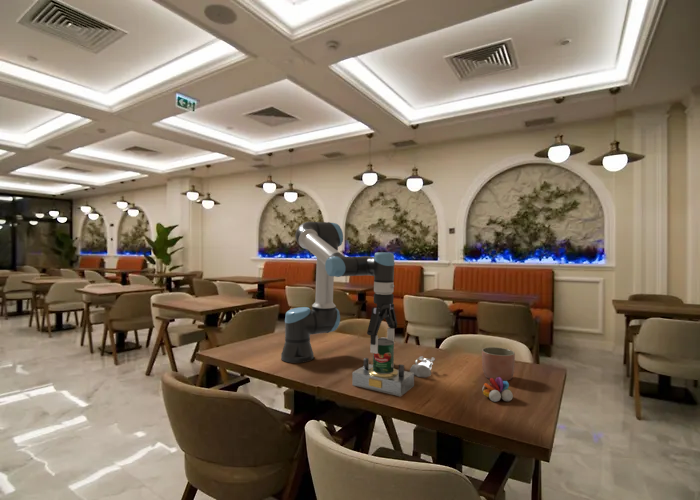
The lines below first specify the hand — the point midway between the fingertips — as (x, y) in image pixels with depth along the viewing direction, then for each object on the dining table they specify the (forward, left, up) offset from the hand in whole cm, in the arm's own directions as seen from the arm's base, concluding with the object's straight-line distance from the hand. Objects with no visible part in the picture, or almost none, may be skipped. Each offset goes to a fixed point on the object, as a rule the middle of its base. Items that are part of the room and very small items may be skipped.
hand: (382, 348), depth 141 cm
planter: (+35, +33, -14) cm, 50 cm away
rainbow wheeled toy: (+39, +11, -14) cm, 43 cm away
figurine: (+8, +21, -14) cm, 27 cm away
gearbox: (0, 0, -14) cm, 14 cm away
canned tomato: (0, 0, -9) cm, 9 cm away
